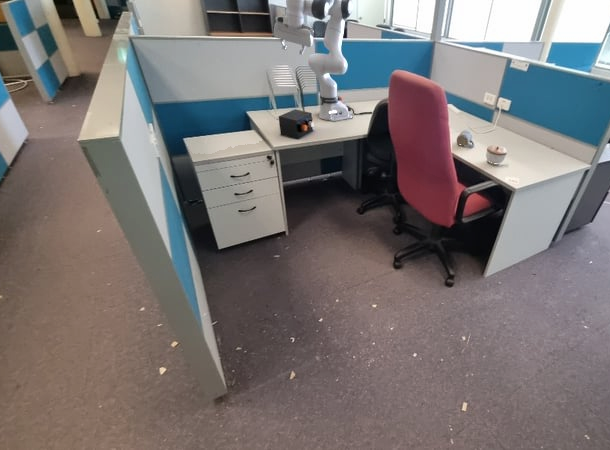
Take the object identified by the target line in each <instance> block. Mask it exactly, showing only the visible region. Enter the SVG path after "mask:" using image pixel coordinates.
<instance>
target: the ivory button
mask: <svg viewBox="0 0 610 450" xmlns="http://www.w3.org/2000/svg"><path fill="white" fill-rule="evenodd" d="M308 125H309V127H313V128H314V126H315V122H314V121H312V122H311V121H310V122H309V124H308Z"/></svg>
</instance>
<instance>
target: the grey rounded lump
mask: <svg viewBox="0 0 610 450" xmlns="http://www.w3.org/2000/svg"><path fill="white" fill-rule="evenodd" d="M472 139H473V134H472V132H470V131H469V130H463V131H461V132H460V133H459V134H458V136H457V137H456V143H457V145H459V144H461V145H459V146H460V147H464V146H463V145H465V146H467V147H468V148H474V146H475V142H474V141H473V140H472ZM471 143H472V144H471Z"/></svg>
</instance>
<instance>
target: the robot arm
mask: <svg viewBox="0 0 610 450" xmlns="http://www.w3.org/2000/svg"><path fill="white" fill-rule="evenodd" d="M285 5H286V10H285V15H279V16H276V17H275V23H274V25H273V36H274V38H276V39H280V43H281V46H282V50H284V51H286V50H287V45H286V44H285V42H290V43H293V44H296V45H300V46H301V49H300V50H299V55H301V56H303V55H304V52H305V50H306V49H307V48H312V47H313V46H314V35H315V30H314V28H313V27H312V26H311V25H307V24H304V23H305V16H308V17H311V18H315V19H317V20H319V21H322V20H325V19H326V18H327V16H329V19H328V22H327V23H326V28H325V32H324V37H323V45H324V47H325V48H326V49H327V50H328V51H329V53H322V52H321V53H320V52H318V53H316V52H315V53H311V54H310V55H309V56H308V59H307V60H308V61H307V63H308V67H309V68H310V70H311V71H312V72H313V73H314V74H315V76H316V78H317V80H318V84H319V92H320V93H319V94H320V95H319V105H320V107H319V114H318V118H320V119H322V120H326V121H331V122H336V121H343V120H348V119H352V118H353V115H355V116H359V115H364V114H366V115H367V114H373V113H372V112H373V111H364V112H363V111H362V112H359V113H356V112H355V110H354V108H352V107H350V106H349V105H345V104H344V103H343V102H342V101H343V97H341V96H339V95H338V84H337V82H336V81H335V80H334V79H333V78H332V77H331V75H336V76H339V75H345V73H347V71H348V61H347V59H346V58H345V57H344V55H343V53H342V43H343V38H344V33H345V21H347V20H348V18H349V17H350V16H351V14H352V12H353V1H352V0H285ZM350 112H352V114H353V115H352V114H351V113H350Z"/></svg>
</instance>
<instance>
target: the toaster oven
mask: <svg viewBox="0 0 610 450" xmlns="http://www.w3.org/2000/svg"><path fill="white" fill-rule="evenodd" d="M277 118H278V125H279V132H280V133H279V134H280V136H283V137H288V138H291V139H296V140H299V139H301V138H302V137H305V136H306V135H308V134H310V133H312V132H313V131H314V129H313V128H314V126H313V127H309V125H308V124H309V122H310V121H311V122H313V114H312V112H310V111H304V110H301V109H300V110H299V109H292V110H290V111H288V112H285V113H283V114H281V115H278V117H277ZM302 125H307V130H306V131H304V130H302Z"/></svg>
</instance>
